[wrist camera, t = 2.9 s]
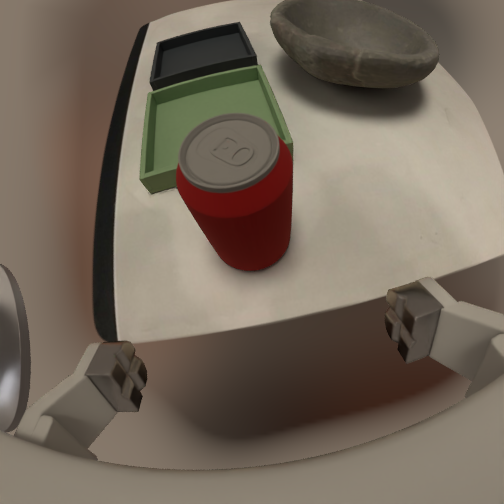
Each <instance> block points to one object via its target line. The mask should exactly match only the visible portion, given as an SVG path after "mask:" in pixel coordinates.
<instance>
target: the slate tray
mask: <svg viewBox="0 0 504 504" xmlns="http://www.w3.org/2000/svg"><path fill="white" fill-rule="evenodd" d="M256 65H258V64H257V56H256V54H255V52H254V50H253V48H252V45H251V43H250V41H249V39H248V37H247V35H246V33H245V31H244V29H243V27H242V25H241V23H240V22H237V23H231V24H226V25H221V26H216V27H211V28H207V29H203V30H198V31H195V32H191V33H187V34H183V35H180V36H176V37H173V38H170V39H167V40H163V41H160V42H157V45H156V50H155V55H154V60H153V65H152V71H151V77H150V85H151V87H152V89H153V91H155V90H158V89H161V88H164V87H168V86H171V85H174V84H177V83H181V82H184V81H188V80H191V79H195V78H199V77H203V76H207V75H211V74H215V73H220V72H224V71H229V70H234V69H239V68H244V67H250V66H256Z"/></svg>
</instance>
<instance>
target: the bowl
mask: <svg viewBox="0 0 504 504" xmlns="http://www.w3.org/2000/svg"><path fill="white" fill-rule="evenodd" d="M270 17H271V21H270V24H271V28H272V31H273V34H274V36H275V38H276V40H277V41H278V43H279V44H280V46H281V47H282V48H283V50H284V51H285V52H286V53H287V54H288V55H289V56H290V57H291V58H292V59H293V60H295V61H296V62H297V63H298V64H299V65H300V66H301V67H302V68H303V69H304V70H305V71H307V72H308V73H309V74H311V75H312V76H314V77H316V78H318V79H321V80H325V81H329V82H332V83H337V84H343V85H350V86H359V87H369V88H396V87H402V86H406V85H410V84H413V83H416V82H418V81H420V80H422V79H424V78H425V77H427V76H428V75H429V74H430V73H431V72H432V71H433V70H434V69H435V67H436V65H437V63H438V60H439V50H438V47H437V45H436V43H435V42H434V40H433V39H432V38H431V37H430V36H429V34H428V33H426V32H425V31H424V30H423V29H421V28H420V27H419V26H418V25H416V24H414V23H413V22H411V21H409V20H408V19H406V18H404V17H402V16H400V15H398V14H396V13H394V12H392V11H389V10H387V9H385V8H382V7H379V6H376V5H373V4H370V3H367V2H363V1H358V0H285V1H283V2H281V3H279V4H278V5H277V6H276V7H275V8H274V9H273V11H272V12H271V16H270Z"/></svg>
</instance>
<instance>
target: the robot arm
mask: <svg viewBox="0 0 504 504" xmlns="http://www.w3.org/2000/svg"><path fill="white" fill-rule="evenodd" d="M386 301H387V303H388V304H389V308H388V309H387V311H386V312H385V325H386V330H387V332H388V335H389V336H390V338H391V340H393V341H395V342H397V343H399V344H398V351H399V352H400V354H401V356H402V357H403V359H404V361H405V362H406V363H410V362H412V361H415V360H418V359H421V358H423V357H425V356H428V355H429V356H430V357H431V358H433V359H434V360H436V361H438V362H440V363H441V364H443V365H445V366H447V367H448V368H450V369H452V370H454V371H455V372H457V373H459V374H461V375H462V376H464V377H466V378H467V379H469V380H471V381H472V382H471V384H470V386H469V388H468V390H467V392H466V394H465V399H463V400H462V401H460V402H458V403H457V404H454V405H453V406H451V407H449V408H447V409H445V410H443V411H441V412H439V413H437V414H435V415H433V416H431V417H429V418H427V419H425V420H423V421H421V422H418V423H416V424H414V425H412V426H409V427H407V428H404V429H402V430H399V431H397V432H394V433H392V434H390V435H387V436H384V437H381V438H378V439H375V440H373V441H370V442H366V443H364V444H360V445H357V446H354V447H350V448H347V449H344V450H340V451H336V452H332V453H328V454H324V455H320V456H316V457H311V458H307V459H301V460H296V461H291V462H285V463H279V464H272V465H264V466H256V467H246V468H234V469H215V470H175V469H157V468H146V467H135V466H128V465H120V464H114V463H108V462H102V461H97V460H98V459H97V457H96V455H94V454H93V453H92V452H90V451H89V450H88V448H89V446H90V445H91V444H92V443H93V442H94V440H95V439H96V438H97V437H98V436H99V434H100V433H101V432H102V431H103V430H104V428H105V427H106V426H107V425H108V424H109V422H110V421H111V420H112V419H113V418H114V416H115V415H116V414H117V412H138V411H139V408H140V403H141V400H142V397H143V396H142V394H141V392H140V391H141V390H142V389H143V388H144V387H145V386H146V381H147V370H146V368H145V365H144V363H143V361H142V360H141V359H140V358H139V357H137V356H136V355H135V348H134V346H133V345H132V343H131V342H129V341H114V342H103V343H102V342H101V343H92V344H90V345H88V347H87V349H86V351H85V353H84V354H83V356H82V358H81V360H80V362H79V364H78V365H77V367H76V369H75V371H74V373H73V375H70V376H68V377H67V378H65V379H64V380H63V381H61V382H60V383H59V384H58V385H56V386H55V387H54V388H53V389H51V390H50V391H49V392H48V393H46V394H45V395H44V396H43V397H41V398H40V399H39V400H38V401H36V402H35V403H34V404H33V405H32V406H30V407H29V408H28V409H26V411H25V413H24V415H23V417H22V419H21V421H20V423H19V425H18V427H17V430H16V432H15V434H14V436H12V435H10V434H8V433H5V432H3V431H1V430H0V504H504V314H501V313H498V312H495V311H491V310H488V309H485V308H482V307H479V306H475V305H472V304H469V303H466V302H463V301H460V302H457V301H456V300H455V299H454V298H453V297H452V296H451V295H450V294H448V293H447V292H446V291H445V290H444V289H443V288H442V287H441V286H440V285H439V284H438V283H437V282H436V281H435V280H434V279H432V278H431V277H425V278H422V279H419V280H416V281H415V282H412V283H409V284H405V285H402V286H399V287H396V288H392V289H389V290H388V292H387V296H386Z"/></svg>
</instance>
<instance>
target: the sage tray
mask: <svg viewBox="0 0 504 504" xmlns="http://www.w3.org/2000/svg"><path fill="white" fill-rule="evenodd" d="M227 113H246V114H251V115H255V116H257V117H260V118H262V119H263V120H265V121H267V122H268V123H269V124H270V125H271V126H272V127H273V128H274V129H275V131H276V133H277V135H278V136H279V137H280V138H281V139H282V140H283V141H284V143H285V144H286V145H287V147H288V149H289V151H290V153H291V156H292V160H293V141H292V138H291V136H290V133H289V131H288V128H287V126H286V123H285V121H284V118H283V116H282V113H281V111H280V108H279V106H278V103H277V101H276V99H275V96H274V94H273V92H272V89H271V87H270V85H269V82H268V80H267V78H266V76H265V73H264V71H263V69H262V67H261V65H256V66H250V67H244V68H239V69H234V70H229V71H224V72H220V73H215V74H211V75H207V76H203V77H199V78H195V79H191V80H188V81H184V82H181V83H177V84H174V85H171V86H168V87H164V88H161V89H158V90H155V91H152V92H149V93H148V96H147V103H146V111H145V119H144V128H143V138H142V149H141V163H140V181H141V182H142V183H143V185H144V186H145V187H146V189H147V190H148V191H149V192H150V194H151V193H155V192H158V191H162V190H165V189H169V188H172V187H176V186H177V184H176V170H177V165H178V153H179V149H180V146H181V144H182V142H183V140H184V138H185V137H186V136H187V134H188V133H189V132H190V131H191V130H192V129H193V128H195V127H196V126H197V125H199V124H200V123H202V122H203V121H205V120H207V119H209V118H212V117H215V116H218V115H222V114H227Z"/></svg>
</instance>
